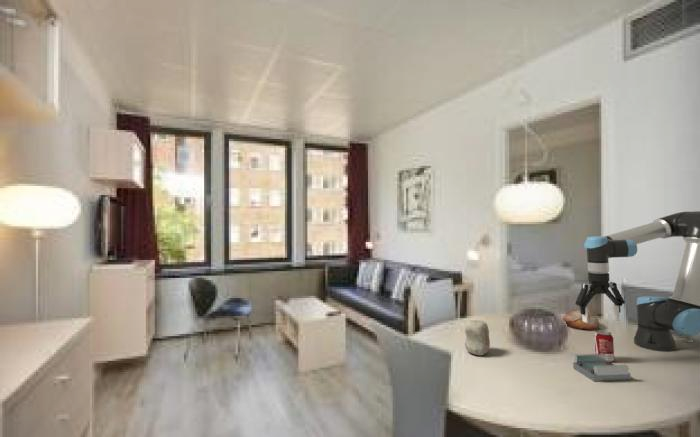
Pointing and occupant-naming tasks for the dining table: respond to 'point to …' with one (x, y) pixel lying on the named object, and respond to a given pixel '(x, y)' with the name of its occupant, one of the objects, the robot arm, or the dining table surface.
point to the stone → (477, 337)
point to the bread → (581, 321)
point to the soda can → (604, 344)
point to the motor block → (600, 368)
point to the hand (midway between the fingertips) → (600, 321)
